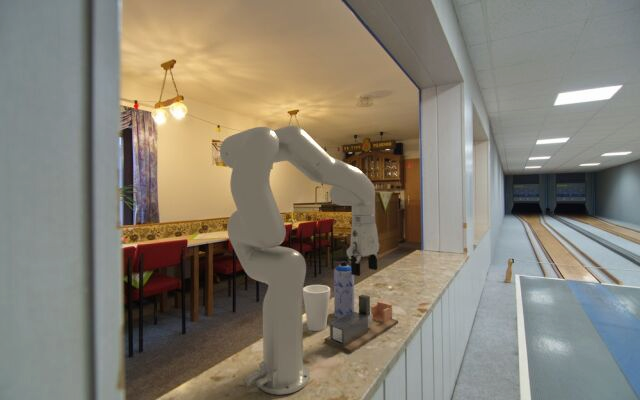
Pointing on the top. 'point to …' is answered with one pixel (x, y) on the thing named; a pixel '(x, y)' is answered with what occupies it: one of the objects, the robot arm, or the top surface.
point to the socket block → (382, 311)
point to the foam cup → (316, 306)
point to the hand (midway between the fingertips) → (364, 272)
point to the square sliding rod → (363, 309)
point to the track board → (366, 335)
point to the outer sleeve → (350, 328)
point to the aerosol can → (343, 290)
